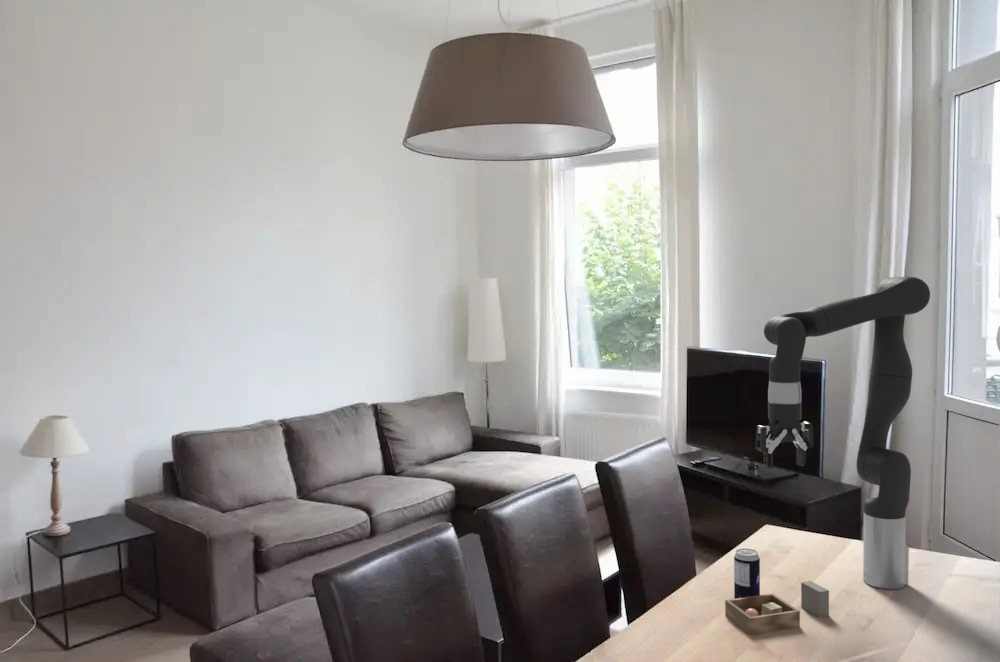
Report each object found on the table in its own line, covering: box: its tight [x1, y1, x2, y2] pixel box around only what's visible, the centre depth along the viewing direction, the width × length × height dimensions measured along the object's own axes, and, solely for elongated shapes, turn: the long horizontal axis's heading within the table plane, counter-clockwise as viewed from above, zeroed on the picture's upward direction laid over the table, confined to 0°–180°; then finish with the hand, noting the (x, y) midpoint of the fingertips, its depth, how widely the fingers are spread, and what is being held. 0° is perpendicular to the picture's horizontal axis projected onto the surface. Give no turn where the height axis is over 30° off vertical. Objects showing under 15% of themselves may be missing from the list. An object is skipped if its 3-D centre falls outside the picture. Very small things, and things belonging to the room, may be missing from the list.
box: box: [724, 593, 801, 635], centre depth 172 cm, size 12×10×4 cm
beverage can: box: [733, 548, 761, 599], centre depth 183 cm, size 6×6×12 cm
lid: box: [800, 580, 830, 618], centre depth 176 cm, size 12×10×7 cm
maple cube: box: [762, 602, 782, 615], centre depth 173 cm, size 3×3×3 cm
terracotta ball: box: [745, 608, 759, 617], centre depth 171 cm, size 3×3×3 cm
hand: (784, 466), depth 189 cm, fingers open, 8 cm apart
